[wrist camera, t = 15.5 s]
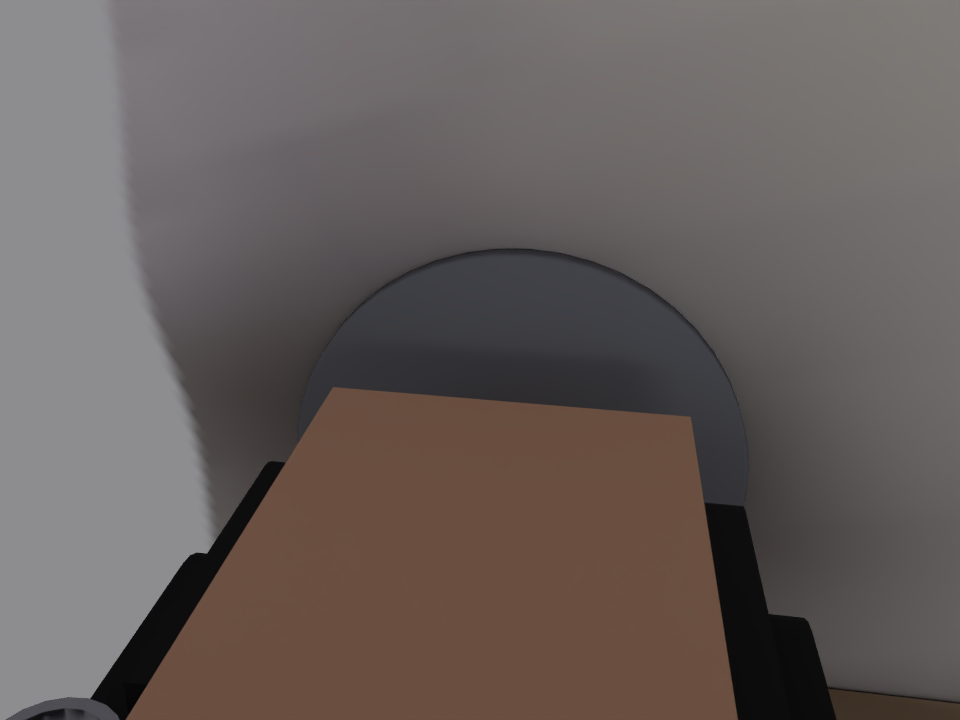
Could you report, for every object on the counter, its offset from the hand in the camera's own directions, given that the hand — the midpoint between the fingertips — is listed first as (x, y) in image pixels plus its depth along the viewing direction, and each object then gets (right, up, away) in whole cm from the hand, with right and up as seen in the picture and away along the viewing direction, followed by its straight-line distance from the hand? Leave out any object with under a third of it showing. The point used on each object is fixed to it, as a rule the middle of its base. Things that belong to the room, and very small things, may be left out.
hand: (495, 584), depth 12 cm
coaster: (0, +1, +3) cm, 3 cm away
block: (0, 0, +1) cm, 1 cm away
